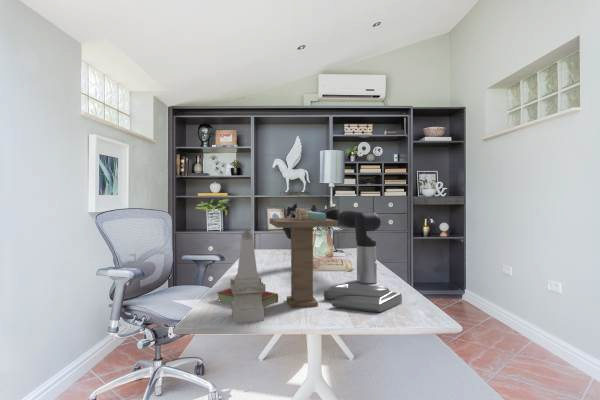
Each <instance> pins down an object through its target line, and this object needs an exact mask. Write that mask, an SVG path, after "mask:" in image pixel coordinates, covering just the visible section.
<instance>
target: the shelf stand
mask: <svg viewBox="0 0 600 400" xmlns="http://www.w3.org/2000/svg"><path fill="white" fill-rule="evenodd" d="M307 211H308V210H307V209H306V208H299V209H296V214H295V218H290V217H278V218H277V217H274V218H271V217H270V218H269V224H270V225H272V226H273V227H274V228H278V229H279V228H281V229H283V228H289V227H291V239H290V272H291V273H290V275H291V277H290V285H291V287H290V288H291V289H290V294H291V295H290V296H289V295H287V296H286V301H287V303H288V305H289V307H290V308H291V309H297V308H312V307H313V308H314V307H318V306H319V302H318V301H317V299H316V298H315V297H314V271H313V259H314V250H313V249H314V246H313V245H314V243H313V242H314V239H313V237H314V234H313V233H314V232H313V231H314V228H323V227H324V228H325V227H326V228H329V227H332V228H333V227H339V226H338V221H336V220H331V219H327V218H326V220H323V221H318V220H314V219H310V218H308V215H307ZM313 227H314V228H313Z"/></svg>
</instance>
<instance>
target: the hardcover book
mask: <svg viewBox="0 0 600 400" xmlns="http://www.w3.org/2000/svg"><path fill="white" fill-rule="evenodd" d="M216 293H217V294H218V295H217V296H218V299H217V301H218V300H220V301H219V302H221V301H224V302H223V303H225V302H227V303H226V304H229V303H231V304H230V305H232V301H233V300H234V294H233V293H232V290H231V287H230V288H227V289H223V290H219V291H217V292H216ZM277 303H279V295H278V293H276V292H272V291H266V290H265V292H263V293H262V305H263V307H264V308H266V307H268V306H271V305H274V304H277Z"/></svg>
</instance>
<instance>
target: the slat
mask: <svg viewBox="0 0 600 400" xmlns="http://www.w3.org/2000/svg"><path fill="white" fill-rule="evenodd" d="M319 212H320V211H317V212H313V211H311V210H310V211H308V210H307V215H308V218H310V219H314V220H318V221H323V220H326V214H325V213H319Z"/></svg>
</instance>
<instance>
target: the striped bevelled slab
mask: <svg viewBox="0 0 600 400" xmlns="http://www.w3.org/2000/svg"><path fill="white" fill-rule="evenodd" d="M323 299H324V300H323V301H329V302H331V306H332V307H336V308H343V309H349V310H354V311H362V312H363V311H365V312H374V313H382V312H385V311H387V310H390V309H392V308H395V307H397V306H399V305H402V303H403V295H402V293H400V292H394V291H392V290H390V289H389V288H388V287H386V286H382V285H381V286H380V285H367V284H353V283H346V284H339V285H334V286H332V287H329V288H327V289H325V290H324V291H323Z"/></svg>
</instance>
